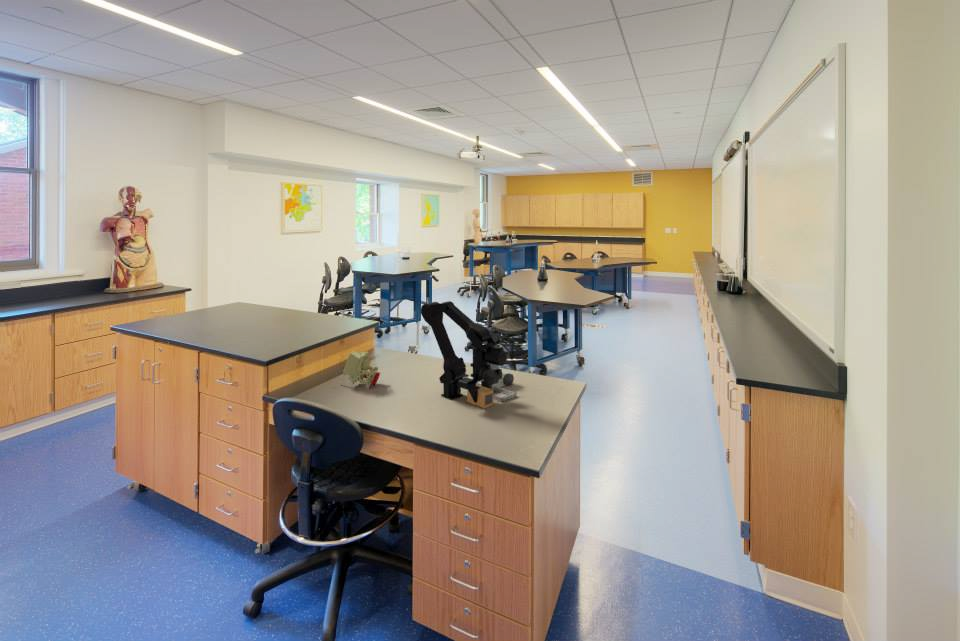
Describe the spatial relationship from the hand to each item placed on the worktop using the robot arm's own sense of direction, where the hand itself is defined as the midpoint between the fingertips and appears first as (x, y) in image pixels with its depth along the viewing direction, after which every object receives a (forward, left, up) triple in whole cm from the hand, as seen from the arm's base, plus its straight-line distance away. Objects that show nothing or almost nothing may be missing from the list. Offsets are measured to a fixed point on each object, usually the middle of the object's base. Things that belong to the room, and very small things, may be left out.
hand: (480, 400), depth 188 cm
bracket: (+11, +2, -1) cm, 11 cm away
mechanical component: (-18, +50, -2) cm, 53 cm away
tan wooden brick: (0, 0, -1) cm, 1 cm away
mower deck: (+17, +13, -1) cm, 21 cm away
